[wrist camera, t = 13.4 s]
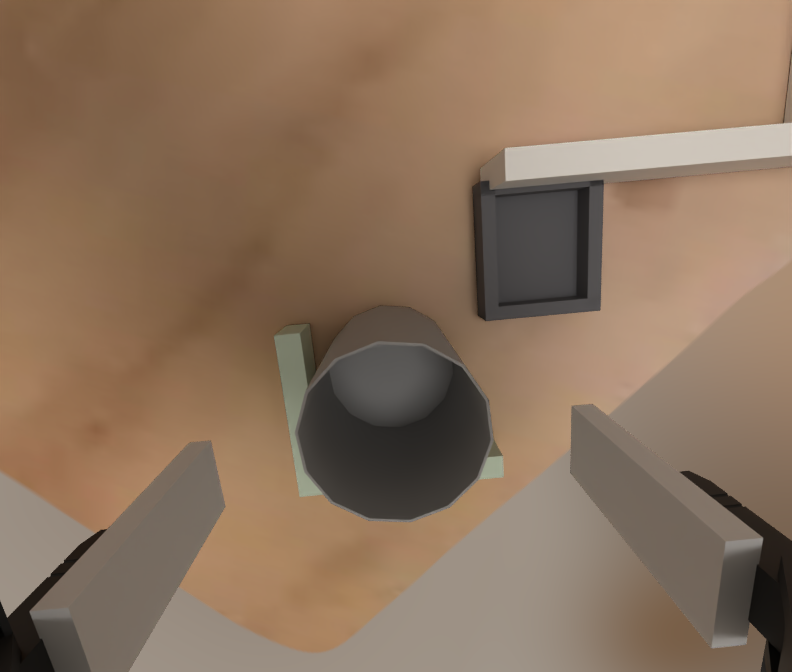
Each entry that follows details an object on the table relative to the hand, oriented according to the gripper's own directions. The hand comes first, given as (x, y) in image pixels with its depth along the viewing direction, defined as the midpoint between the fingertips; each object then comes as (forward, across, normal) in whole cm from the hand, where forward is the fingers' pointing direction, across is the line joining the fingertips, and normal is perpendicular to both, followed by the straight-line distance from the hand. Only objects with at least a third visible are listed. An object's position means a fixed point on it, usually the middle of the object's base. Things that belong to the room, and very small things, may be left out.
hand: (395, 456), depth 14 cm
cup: (+12, 0, -1) cm, 13 cm away
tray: (+12, +10, +6) cm, 17 cm away
